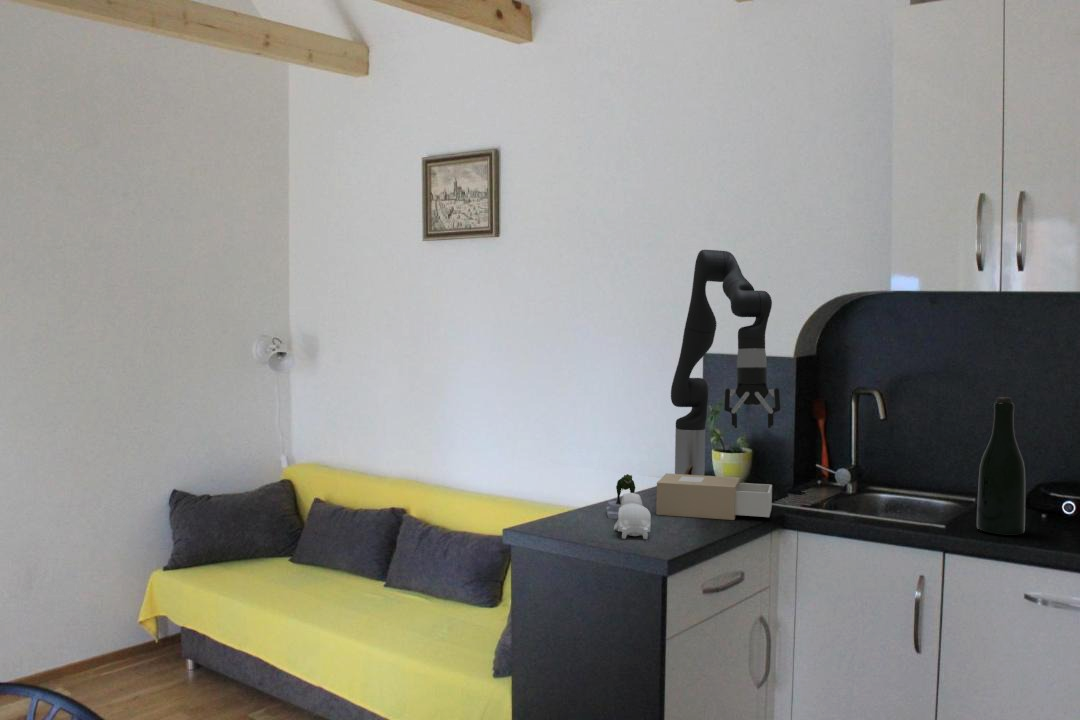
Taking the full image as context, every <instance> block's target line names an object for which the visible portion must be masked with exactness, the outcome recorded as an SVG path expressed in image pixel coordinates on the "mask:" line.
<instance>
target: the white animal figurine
mask: <svg viewBox="0 0 1080 720" xmlns="http://www.w3.org/2000/svg"><path fill="white" fill-rule="evenodd" d="M621 500H622V501H621V507H620V508H619V511H618V519H616V520H617V521H616V522H615V524H614V526H613V532H615V531H617V532H621V539H623V540H625V539H627V536H632V537H637V536H638V537H639V536H642V538H643V539H642V540H648V538H649V534H648V533H650V532H651V522H652V521H651V518H652V516H651V512H650V510H649V509H648V508H647V507H645V506H644V505H642V503H643V501H642V498H641V495H640V494H638V493H636V492H634V493H630V492H628V493H624V494H622V496H621Z"/></svg>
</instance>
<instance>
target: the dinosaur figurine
mask: <svg viewBox="0 0 1080 720" xmlns="http://www.w3.org/2000/svg"><path fill="white" fill-rule="evenodd" d="M615 489H616V494H617V495H616V496H617V499H614V500H613V499H612V500H609V501H607V504H608V505H609V506H606V507H605V508H606V516H607V517H608V519H609V520H618V511H619V508H620V507H621V501H622V499H620V496H621V493H622V491H626V490H629V493H636V485H635V482H634V480H633V475H632V474H631V475H630V474H626V475H625V474H624V475H623V476H622V477H621V478H619V479H618V480H617V482H616V486H615ZM643 504H644V503H643V502H642V506H644V505H643Z"/></svg>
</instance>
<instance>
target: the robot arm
mask: <svg viewBox="0 0 1080 720" xmlns="http://www.w3.org/2000/svg"><path fill="white" fill-rule="evenodd" d="M694 264H695V265H694V269H693V270H694V271H693V280H692V286H691V287H692V289H691V296H690V301H689V306H688V307H689V308H688V312H687V317H686V320H685V325H684V328H683V329H684V330H683V336H682V343H681V347H680V353H679V357H678V362H677V365H676V369H675V372H674V376H673V379H672V383H671V384H672V385H671V389H670V401H671V403H672V405H673V406H675V407H676V408H677V407H678V408H691V410H690V411H689V412H687V414H686V415H684V416H681V417H679V418H677V419H676V421H675V442H674V443H675V444H674V445H675V446H674V448H675V449H674V474H685V472H686V470H687V469H688V467H689V466H690V465H691V464H692V465H693V469H692V475H702V476H705V469H706V468H705V465H706V463H705V462H706V461H705V459H706V458H705V457H706V453H705V451H706V424H707V416H708V401H709V387H708V383H707V381H706V380H705V379H704V378H703V377H691V374H692V371H693V370H694V368H695V366H696V365H697V363H699V361H701V359H702V358H703V357H704V356H705V355H706V354H707V353H708V352H709V350H710V349H711V348H712V347H713V346H712V345H713V342H714V339H715V335H716V330H717V318H716V316H715V314H714V312H713V309H712V308H711V305H710V303H709V300H708V297H707V291H706V288H707V287H706V286H707V282H715V283H722V284H721V285H722V290H723V293H724V295H725V296H726V297H727V298H728V299H729V301H730V309H731V312H732V315H734V316H736V317H738V318H739V317H740V318H755V320H754V321H753V323H752V324H750V325H745V326H743V327H740V328H738V330H737V331H738V332H737V355H736V356H737V357H736V369H737V370H736V377H737V379H736V383H737V386H736V388H735V389H731V388H726V389H725V391H724V408H723V409H724V411H725V412H728V413H730V414H731V426H733V427H734V429H738V413H737V412H738V410H739V409H740V408H741V406H742V405H743V404H744V405H747V406H750V405H754V406H758V405H762V406H763V407H764V408H765V410H766V411H767V412H768V413H767V429H772V428H771V427H773V426H774V414H775V413H777V412H779V411H781V400H780V399H781V398H780V390H779V388H777V387H776V388H770V389H769V388H768V387H767V386H768V385H767V384H768V383H767V382H768V381H767V380H768V379H767V373H768V371H767V365H768V364H767V353H766V333H767V325H768V321H769V317H770V314H771V310H772V306H773V301H772V297H771V295H770V293H769V292H768V291H766V290H755V288H754V286H753V285H752V283H750V282H749V280H747V278H746V277H744V275H743V272H742V270H741V267H740V265H739V263H738V261H737V259H736V257H735V255H734V254H733V253H731V252H730V251H727V250H719V249H718V250H717V249H701V250H700V251H699V252H698V253H697V257H696V259H695V262H694ZM734 394H736V396H737V397H738V399H739V400H738V401H737V402H736V404H735V405H734V407H731V406H730V404H731V398H732V397H733V396H734ZM769 394H770V395H771V397H773V398H774V407H771V406H770V404H768V402H767V401H766V400H765V399H766V397H767V396H768V395H769Z"/></svg>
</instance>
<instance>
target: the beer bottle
mask: <svg viewBox="0 0 1080 720" xmlns="http://www.w3.org/2000/svg"><path fill="white" fill-rule="evenodd" d="M993 411H994V412H993V426H992V431H991V436H990V439H989V441H988V443H987V446H986V448H985V450H984V452H983V455H982V456H981V461H980V464H979V472H978V473H979V474H978V487H977V505H976V506H977V507H976V528H977V530H978V529H980V530H983V531H987V532H993V533H1001V534H1021V533H1023V534H1024V533H1025V531H1026V530H1025V529H1026V528H1025V527H1026V468H1025V467H1026V466H1025V462H1024V459H1023V455H1022V453H1021V451H1020V449H1019V445H1018V443H1017V440H1016V436H1015V435H1016V434H1015V428H1014V427H1015V424H1014V421H1015V419H1014V416H1015V415H1014V413H1015V404H1014V402H1013V398H1012V397H1009V396H998V397H996V402H994V403H993ZM980 530H979V531H980ZM1021 535H1022V534H1021Z"/></svg>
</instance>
